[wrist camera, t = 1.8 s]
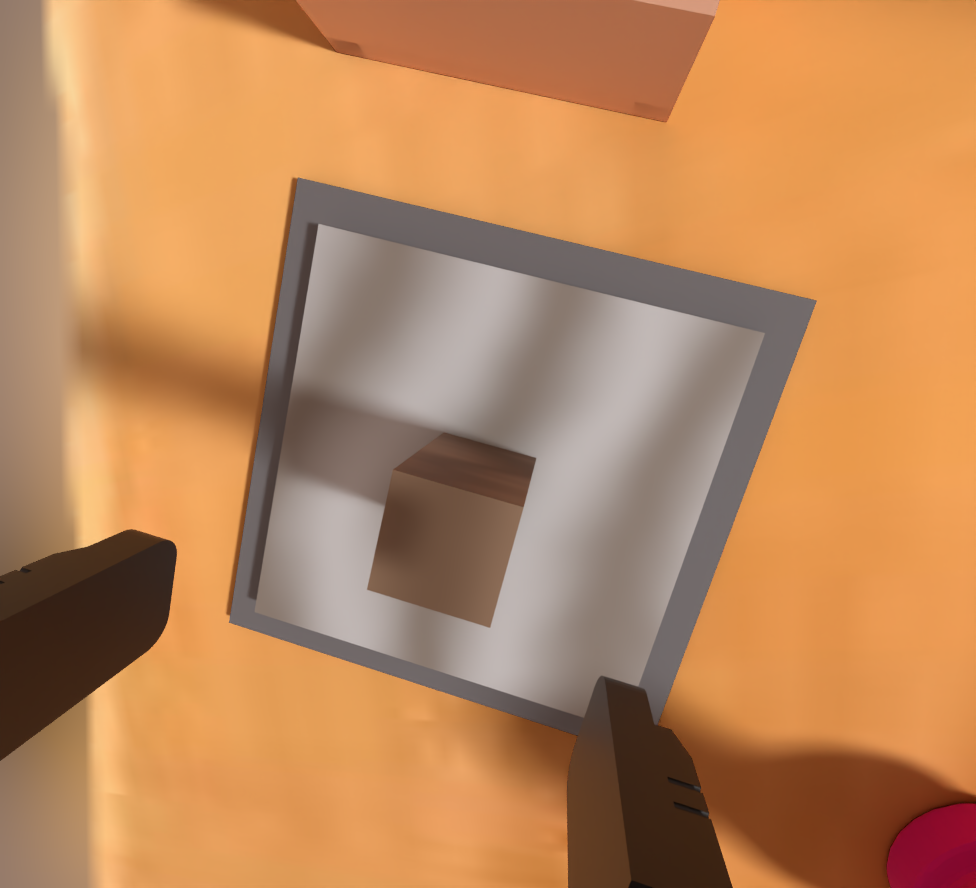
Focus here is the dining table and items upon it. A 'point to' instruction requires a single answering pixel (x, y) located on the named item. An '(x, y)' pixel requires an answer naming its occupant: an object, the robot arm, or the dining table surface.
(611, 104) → the pink storage bin
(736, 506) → the mat
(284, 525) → the lid
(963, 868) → the pepper mill
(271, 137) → the dining table surface
